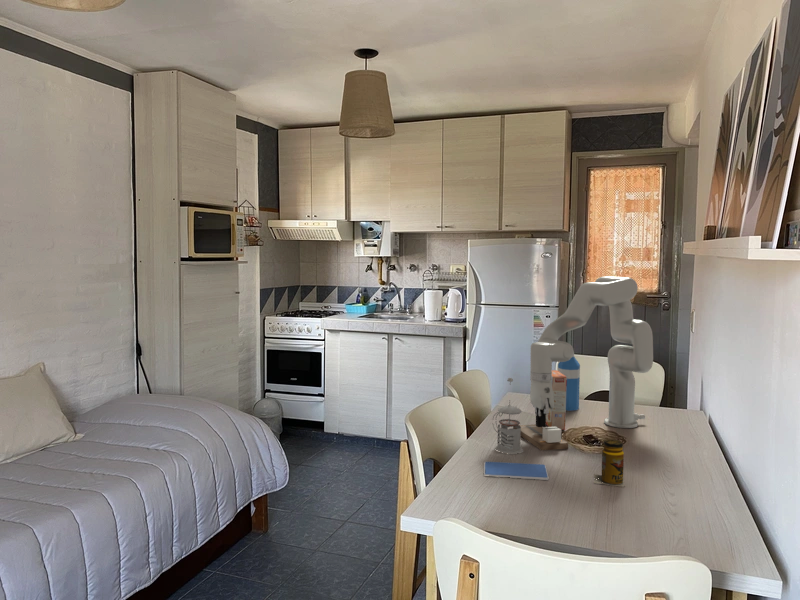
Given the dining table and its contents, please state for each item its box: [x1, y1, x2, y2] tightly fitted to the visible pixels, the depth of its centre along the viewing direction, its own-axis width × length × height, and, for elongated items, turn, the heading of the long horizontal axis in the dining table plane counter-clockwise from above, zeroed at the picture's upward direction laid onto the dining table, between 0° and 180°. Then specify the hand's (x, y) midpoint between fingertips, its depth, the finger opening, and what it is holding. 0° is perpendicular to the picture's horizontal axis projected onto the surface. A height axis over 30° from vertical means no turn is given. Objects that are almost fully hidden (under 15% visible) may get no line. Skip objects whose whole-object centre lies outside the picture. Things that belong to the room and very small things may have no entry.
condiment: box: [593, 439, 626, 488], centre depth 175 cm, size 7×8×12 cm
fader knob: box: [542, 426, 562, 443], centre depth 207 cm, size 5×4×4 cm
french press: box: [492, 377, 524, 455], centre depth 204 cm, size 10×12×25 cm
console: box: [512, 423, 569, 451], centre depth 216 cm, size 10×24×2 cm, turn 13°
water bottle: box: [557, 352, 581, 412], centre depth 261 cm, size 9×9×25 cm
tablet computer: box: [483, 461, 550, 481], centre depth 183 cm, size 19×13×1 cm, turn 81°
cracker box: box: [546, 369, 567, 431], centre depth 234 cm, size 14×6×21 cm, turn 179°
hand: (540, 426), depth 216 cm, fingers closed
